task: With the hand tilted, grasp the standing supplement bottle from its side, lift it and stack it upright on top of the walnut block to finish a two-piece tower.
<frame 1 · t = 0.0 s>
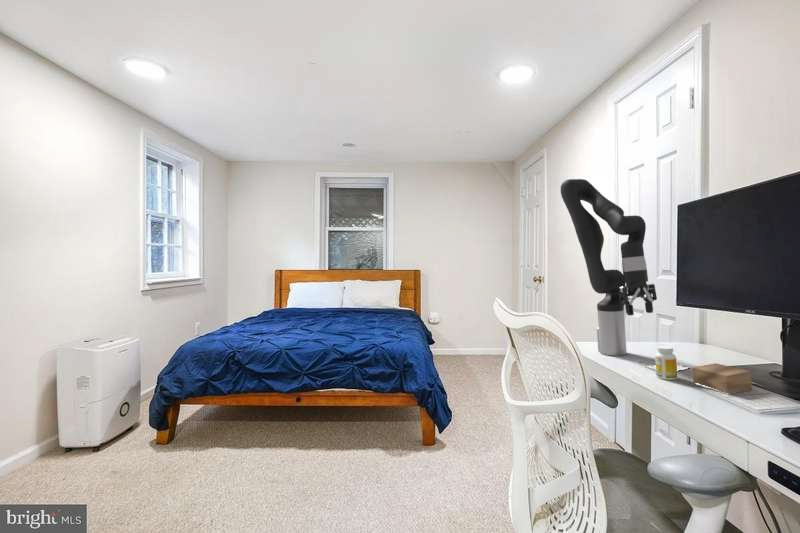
hand: (640, 313, 134), 17 cm above the table, tool pointing down, fingers open, 8 cm apart
instruction page: (668, 367, 124), on the table
walnut block: (721, 386, 105), on the table
supplement bottle: (666, 378, 115), on the table
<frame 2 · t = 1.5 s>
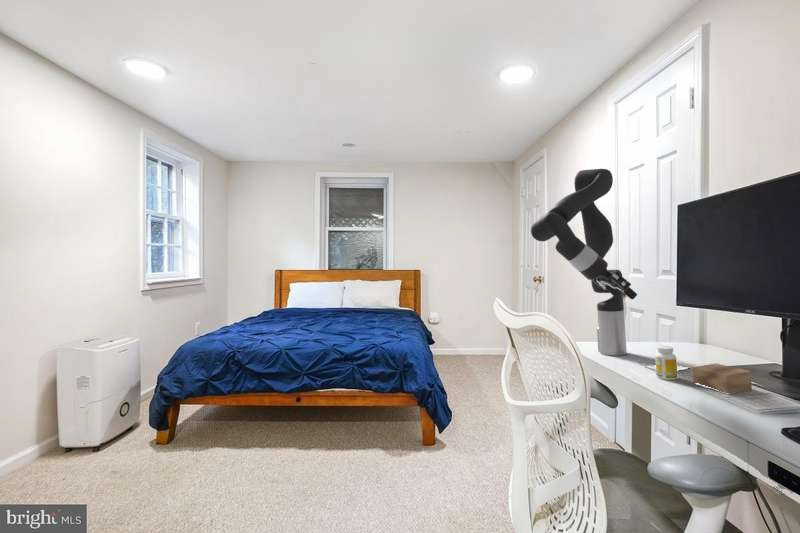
hand: (625, 296, 115), 26 cm above the table, tool tilted 45°, fingers open, 8 cm apart
nothing on the table moved.
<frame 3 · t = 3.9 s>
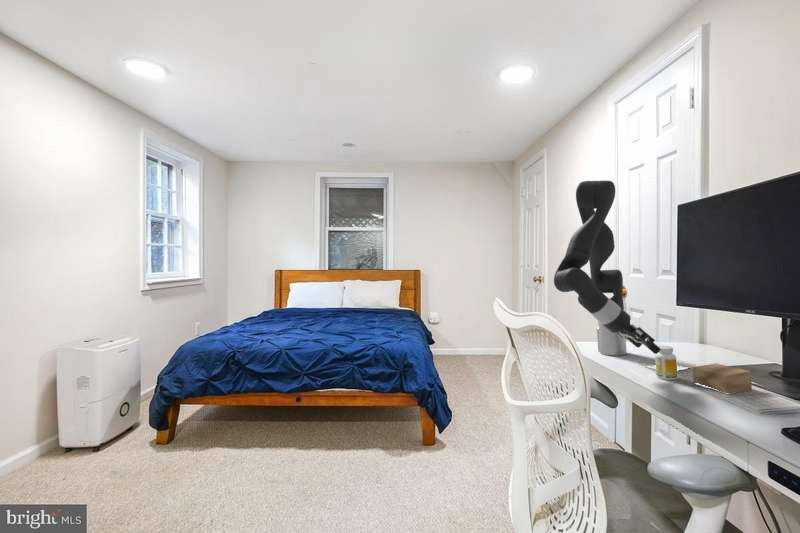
hand: (648, 348, 115), 10 cm above the table, tool tilted 45°, fingers open, 8 cm apart
nothing on the table moved.
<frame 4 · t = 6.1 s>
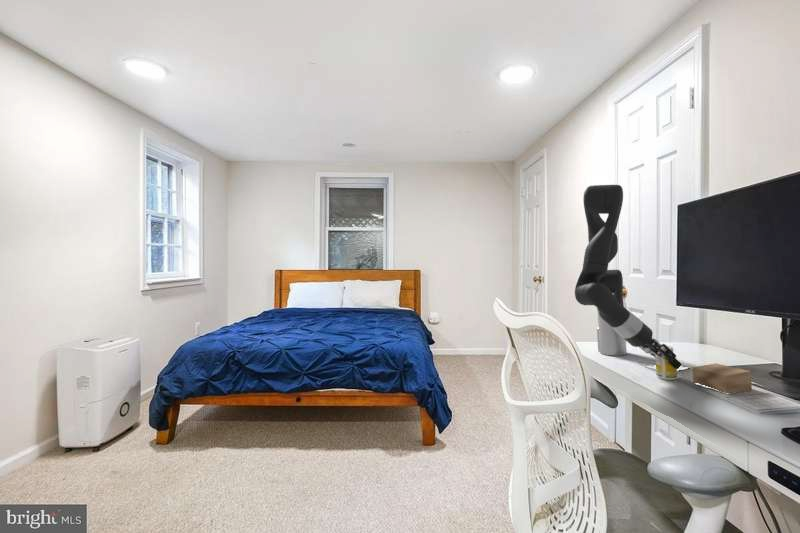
hand: (671, 363, 115), 4 cm above the table, tool tilted 45°, fingers closed on supplement bottle, 5 cm apart
supplement bottle: (666, 378, 115), on the table, touching gripper
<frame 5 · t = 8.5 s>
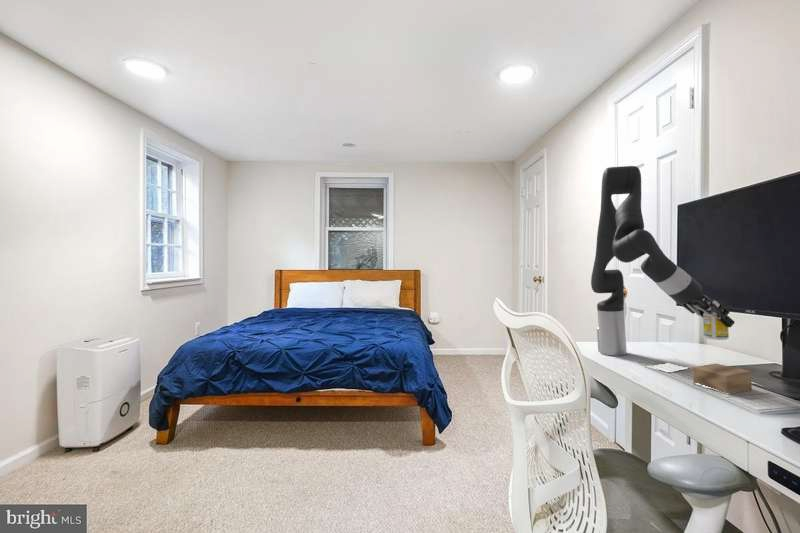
hand: (722, 323, 105), 18 cm above the table, tool tilted 45°, fingers closed on supplement bottle, 5 cm apart
supplement bottle: (716, 338, 105), point 14 cm above the table, touching gripper
when the fingers open (10 cm above the table, at t = 10.9 s): supplement bottle stays where it is, resting on walnut block.
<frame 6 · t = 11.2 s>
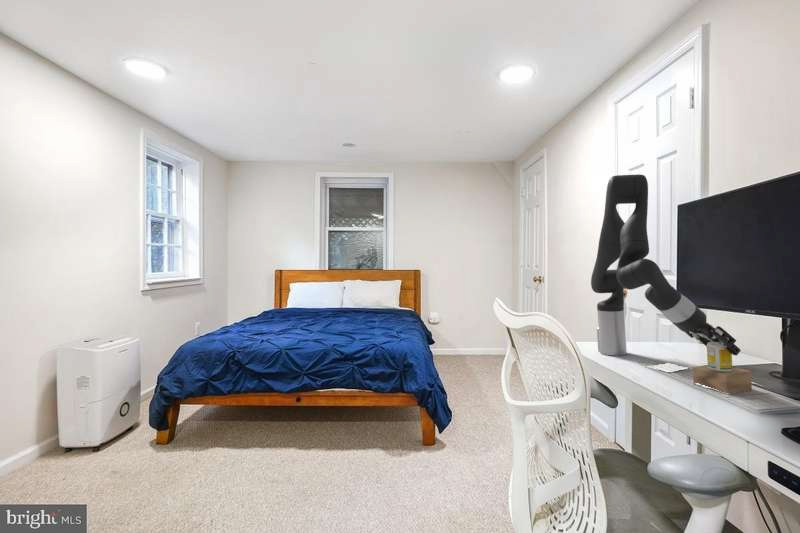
hand: (724, 349, 105), 11 cm above the table, tool tilted 45°, fingers open, 8 cm apart
supplement bottle: (720, 370, 105), point 5 cm above the table, touching walnut block
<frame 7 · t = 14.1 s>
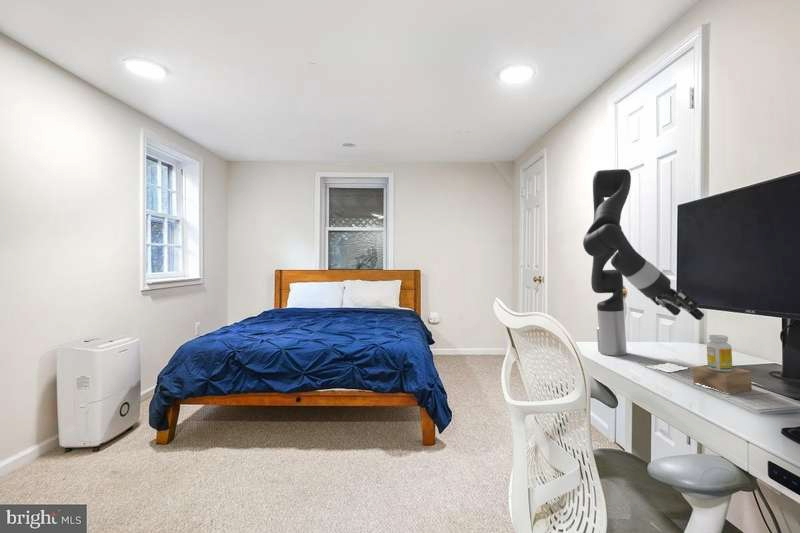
hand: (689, 315, 105), 21 cm above the table, tool tilted 45°, fingers open, 8 cm apart
nothing on the table moved.
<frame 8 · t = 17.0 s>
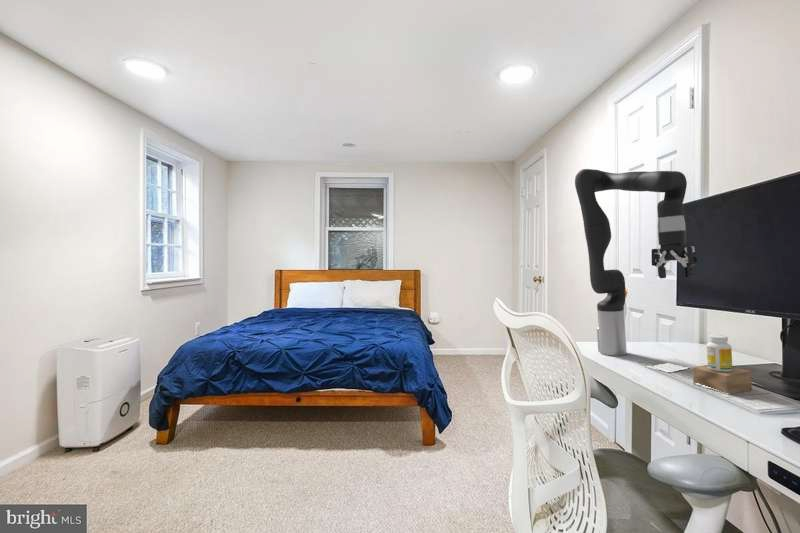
hand: (674, 278, 124), 30 cm above the table, tool pointing down, fingers open, 8 cm apart
nothing on the table moved.
at the end: supplement bottle inside the target area on the walnut block (0.2 cm from its centre), point 4.8 cm above the walnut block's base; supplement bottle tilted 0°; the gripper is holding nothing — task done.
